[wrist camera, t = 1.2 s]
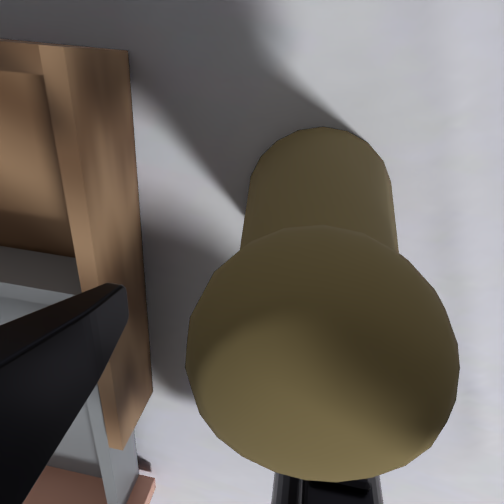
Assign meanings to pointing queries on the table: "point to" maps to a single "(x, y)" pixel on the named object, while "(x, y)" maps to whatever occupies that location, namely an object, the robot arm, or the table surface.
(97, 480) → the tray
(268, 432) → the olive pawn figure
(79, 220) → the brown wooden box
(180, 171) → the table surface
